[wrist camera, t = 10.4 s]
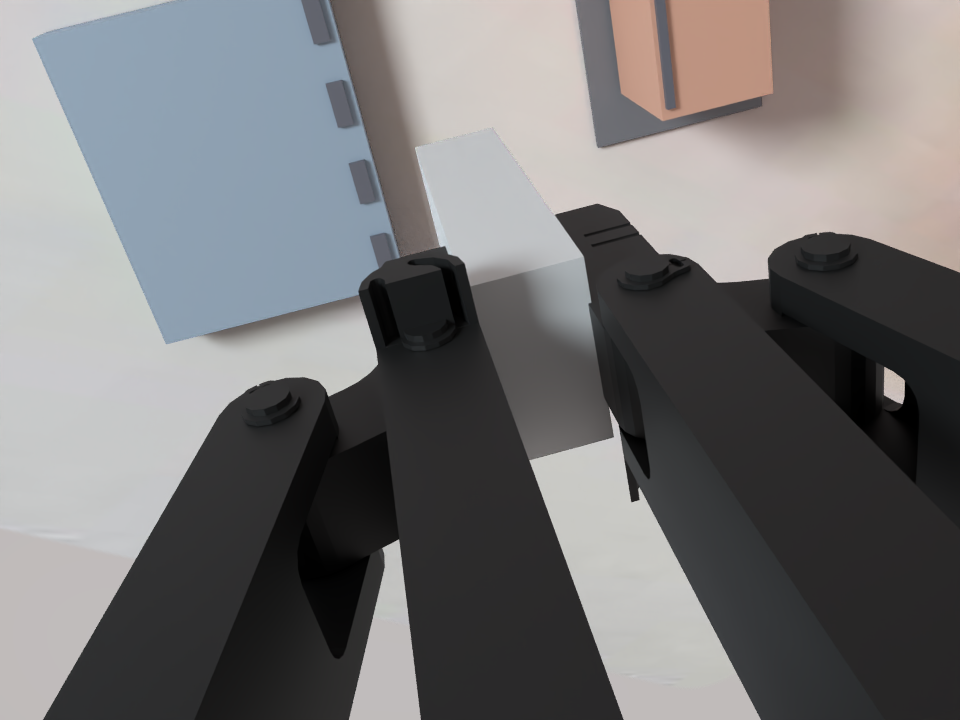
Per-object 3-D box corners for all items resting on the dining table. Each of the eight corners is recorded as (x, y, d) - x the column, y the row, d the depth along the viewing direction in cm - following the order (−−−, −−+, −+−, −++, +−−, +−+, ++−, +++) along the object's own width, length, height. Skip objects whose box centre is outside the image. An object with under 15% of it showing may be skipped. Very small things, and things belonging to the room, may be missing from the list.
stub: (621, 93, 35) (664, 122, 30) (599, -72, 32) (643, -67, 27) (718, 69, 35) (775, 94, 30) (705, -98, 32) (766, -97, 28)
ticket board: (173, 325, 37) (165, 346, 35) (47, 31, 31) (30, 39, 30) (403, 266, 37) (406, 284, 36) (320, -36, 32) (319, -32, 30)
